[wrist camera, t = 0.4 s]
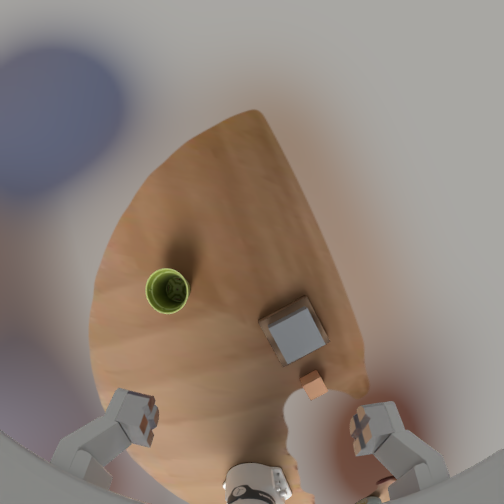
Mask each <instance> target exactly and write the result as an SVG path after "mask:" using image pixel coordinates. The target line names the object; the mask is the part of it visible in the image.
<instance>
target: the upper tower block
mask: <svg viewBox="0 0 504 504" xmlns="http://www.w3.org/2000/svg"><path fill="white" fill-rule="evenodd" d="M268 328H269V330H270V332H271V334H272V336H273V338H274V340H275V342H276V343H277V345H278V347H279V349H280V351H281V353H282V355H283V356H284V358H285V360H286V362H287V364H289V363H291V362H293V361H295V360H297V359H299V358H301V357H303V356H305V355H307V354H309V353H310V352H312V351H314V350H316V349H318V348H320V347H321V346H323V345H325V342H324V340H323V338H322V336H321V334H320V332H319V330H318V328H317V326H316V324H315V322H314V320H313V318H312V316H311V314H310V312H309V310H308V308H307V307H305V306H304V307H302V308H300V309H298V310H296V311H295V312H293V313H291V314H289V315H287V316H285V317H283V318H281V319H279V320H277V321H276V322H274V323H272V324H270V325H268Z"/></svg>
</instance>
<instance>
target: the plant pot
mask: <svg viewBox="0 0 504 504" xmlns="http://www.w3.org/2000/svg"><path fill="white" fill-rule="evenodd" d="M176 278H179V279H181V280H176ZM168 286H169V291H168ZM177 288H178V290H177ZM189 294H190V285H189V283H188V281H187V280H186V279H185V278H184V277H183V276H182V275H181V274H180V273H179V272H178V271H176V270H174V269H170V268H163V269H159V270H157V271H155V272H154V273H153V274H151V276H150V277H149V279H148V281H147V283H146V297H147V300H148V302H149V304H150V305H151V306H152V307H153V308H154V309H155V310H156V311H158V312H160V313H163V314H172V313H175V312H177V311H179V310H180V309H182V308H183V306H184V305H185V304H186V302H187V299H188V297H189ZM175 298H177V299H180V300H175Z"/></svg>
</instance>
